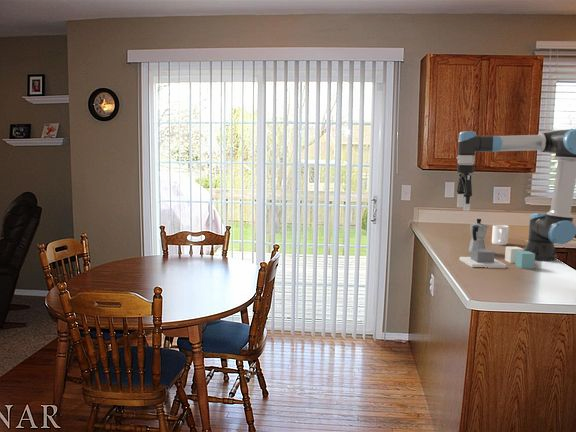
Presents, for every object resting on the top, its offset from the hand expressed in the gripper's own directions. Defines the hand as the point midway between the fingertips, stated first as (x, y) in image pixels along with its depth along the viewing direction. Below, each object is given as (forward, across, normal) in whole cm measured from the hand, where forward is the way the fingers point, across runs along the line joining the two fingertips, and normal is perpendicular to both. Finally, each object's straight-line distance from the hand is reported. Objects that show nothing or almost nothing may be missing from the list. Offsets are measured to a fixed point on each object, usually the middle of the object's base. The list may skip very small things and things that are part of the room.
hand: (463, 209), depth 235 cm
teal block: (+27, +4, +28) cm, 39 cm away
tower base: (+26, +1, +10) cm, 28 cm away
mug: (+27, -53, +34) cm, 68 cm away
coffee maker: (+27, -27, +14) cm, 41 cm away
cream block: (+27, -7, +27) cm, 39 cm away
